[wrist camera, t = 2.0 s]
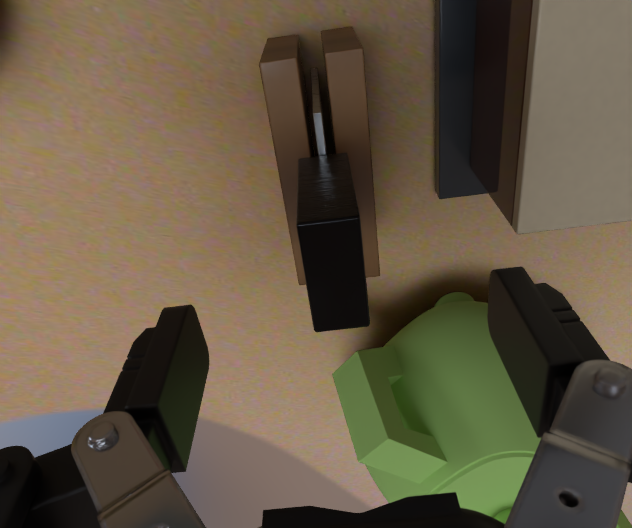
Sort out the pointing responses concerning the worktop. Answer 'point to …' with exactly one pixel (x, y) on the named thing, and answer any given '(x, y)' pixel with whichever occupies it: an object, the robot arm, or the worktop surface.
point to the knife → (330, 234)
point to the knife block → (346, 119)
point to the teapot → (440, 412)
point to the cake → (536, 108)
